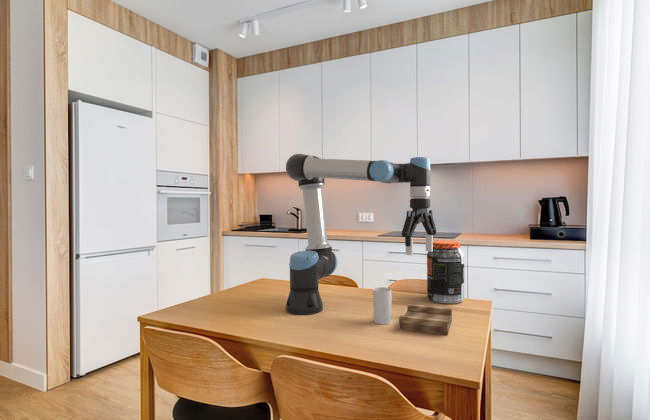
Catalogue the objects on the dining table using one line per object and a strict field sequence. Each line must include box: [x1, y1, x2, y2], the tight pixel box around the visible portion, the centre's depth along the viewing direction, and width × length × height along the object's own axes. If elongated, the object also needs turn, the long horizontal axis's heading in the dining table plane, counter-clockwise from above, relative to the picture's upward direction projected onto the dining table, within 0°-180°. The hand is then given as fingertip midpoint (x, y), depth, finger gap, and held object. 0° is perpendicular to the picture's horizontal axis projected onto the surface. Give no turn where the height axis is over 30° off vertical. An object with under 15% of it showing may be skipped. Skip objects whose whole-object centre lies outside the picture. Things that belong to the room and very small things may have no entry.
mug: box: [372, 286, 393, 325], centre depth 141 cm, size 10×7×12 cm, turn 142°
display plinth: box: [398, 303, 453, 336], centre depth 136 cm, size 16×17×4 cm
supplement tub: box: [426, 240, 465, 304], centre depth 168 cm, size 16×16×26 cm
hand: (419, 253), depth 146 cm, fingers open, 13 cm apart
